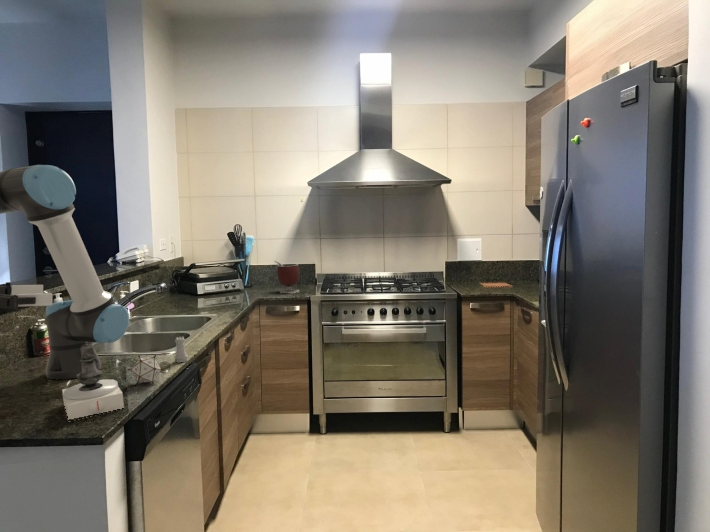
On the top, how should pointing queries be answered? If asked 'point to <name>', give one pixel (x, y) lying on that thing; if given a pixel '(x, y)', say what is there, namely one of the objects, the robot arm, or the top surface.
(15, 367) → the top surface
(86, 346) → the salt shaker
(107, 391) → the kitchen scale
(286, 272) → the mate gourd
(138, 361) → the game die
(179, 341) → the rook chess piece
